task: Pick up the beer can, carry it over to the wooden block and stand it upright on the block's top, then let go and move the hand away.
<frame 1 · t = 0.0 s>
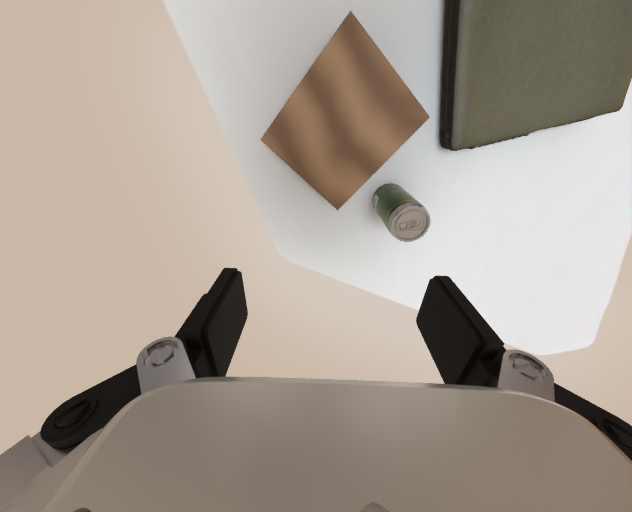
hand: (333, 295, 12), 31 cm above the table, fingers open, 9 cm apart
wooden block: (339, 127, 35), on the table
beer can: (387, 198, 41), on the table
network switch: (521, 43, 30), on the table
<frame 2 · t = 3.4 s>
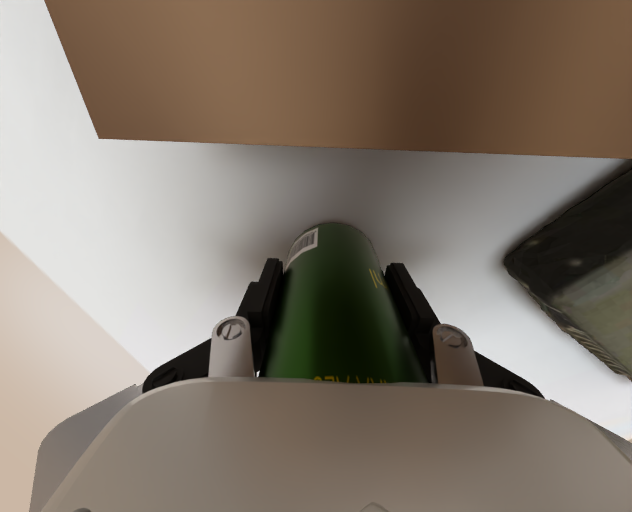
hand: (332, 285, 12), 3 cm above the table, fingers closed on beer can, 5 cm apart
beer can: (330, 256, 15), on the table, touching gripper
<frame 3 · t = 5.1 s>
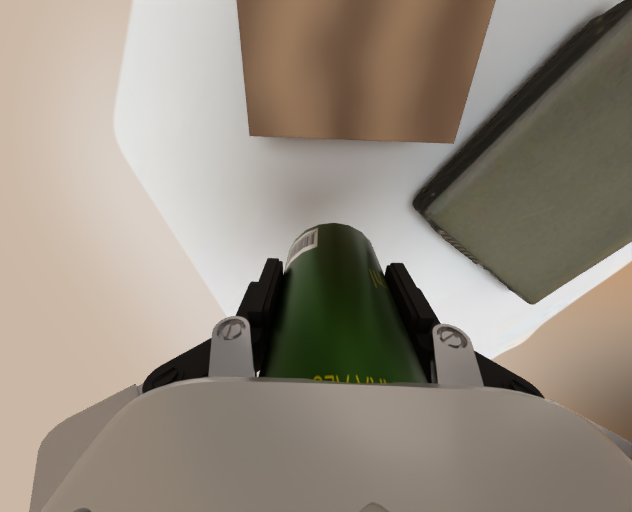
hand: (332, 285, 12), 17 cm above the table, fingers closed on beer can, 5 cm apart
wooden block: (350, 48, 21), on the table
beer can: (330, 256, 15), point 14 cm above the table, touching gripper
network switch: (536, 182, 27), on the table
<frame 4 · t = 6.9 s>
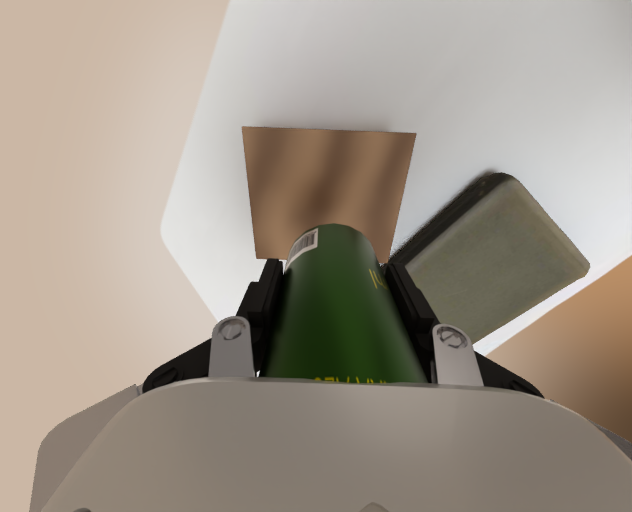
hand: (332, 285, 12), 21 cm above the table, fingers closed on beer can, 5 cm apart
wooden block: (324, 188, 31), on the table
beer can: (330, 256, 15), point 18 cm above the table, touching gripper
network switch: (464, 262, 37), on the table
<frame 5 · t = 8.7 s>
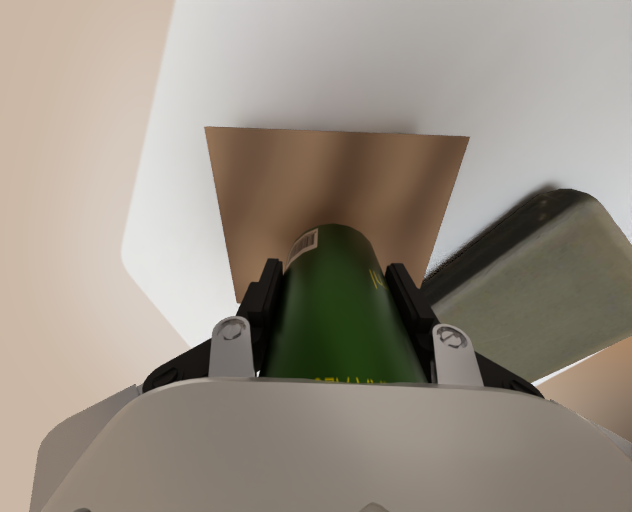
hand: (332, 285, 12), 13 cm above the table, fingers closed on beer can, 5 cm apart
wooden block: (327, 207, 23), on the table
beer can: (330, 256, 15), point 10 cm above the table, touching gripper
network switch: (501, 295, 30), on the table
when the fingers open (11 cm above the table, at t = 10.5 s): beer can stays where it is, resting on wooden block.
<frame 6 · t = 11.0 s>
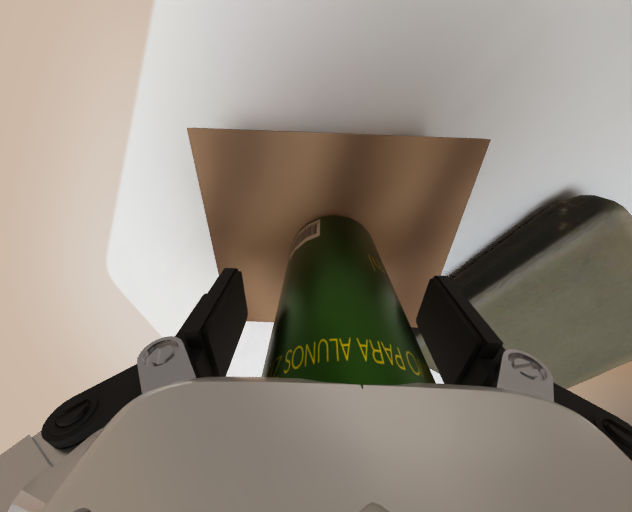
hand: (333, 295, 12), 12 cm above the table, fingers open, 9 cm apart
wooden block: (327, 214, 22), on the table
beer can: (331, 247, 16), point 7 cm above the table, touching wooden block
network switch: (512, 306, 28), on the table
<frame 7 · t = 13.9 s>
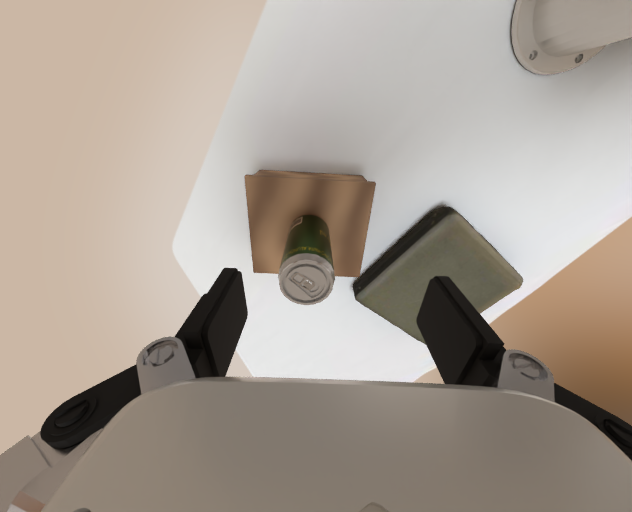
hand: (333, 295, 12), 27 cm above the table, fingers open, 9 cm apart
wooden block: (309, 215, 38), on the table
beer can: (309, 231, 32), point 7 cm above the table, touching wooden block
network switch: (427, 274, 44), on the table
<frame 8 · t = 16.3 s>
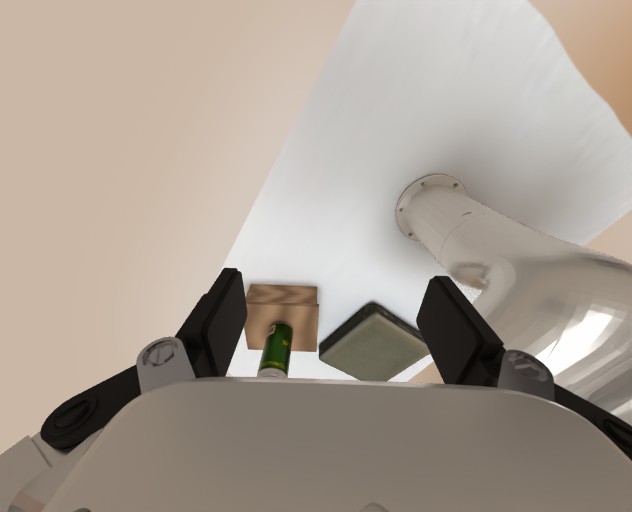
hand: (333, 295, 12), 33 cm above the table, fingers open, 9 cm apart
wooden block: (285, 307, 56), on the table
beer can: (281, 328, 51), point 7 cm above the table, touching wooden block
network switch: (371, 339, 63), on the table
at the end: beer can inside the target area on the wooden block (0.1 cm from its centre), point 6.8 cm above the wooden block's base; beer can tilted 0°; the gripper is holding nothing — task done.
